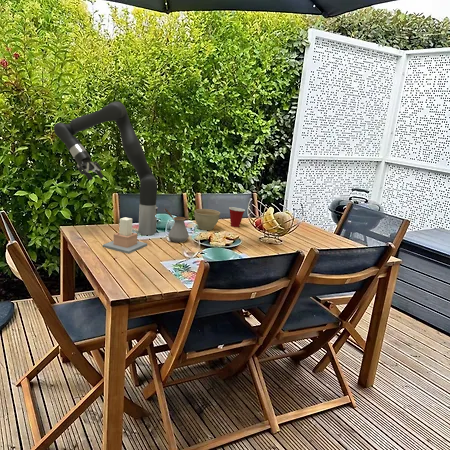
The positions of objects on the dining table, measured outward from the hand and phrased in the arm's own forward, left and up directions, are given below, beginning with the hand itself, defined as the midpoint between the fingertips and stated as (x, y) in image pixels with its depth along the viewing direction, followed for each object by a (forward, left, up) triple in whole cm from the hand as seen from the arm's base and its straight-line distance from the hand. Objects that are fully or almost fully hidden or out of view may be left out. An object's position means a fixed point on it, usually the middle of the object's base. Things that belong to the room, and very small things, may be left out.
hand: (97, 178), depth 217 cm
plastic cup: (-86, +22, -31) cm, 94 cm away
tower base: (-3, +26, -31) cm, 40 cm away
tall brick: (-3, +26, -25) cm, 36 cm away
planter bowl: (-64, +18, -31) cm, 74 cm away
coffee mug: (-40, -7, -31) cm, 51 cm away
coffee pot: (-34, +25, -31) cm, 53 cm away
